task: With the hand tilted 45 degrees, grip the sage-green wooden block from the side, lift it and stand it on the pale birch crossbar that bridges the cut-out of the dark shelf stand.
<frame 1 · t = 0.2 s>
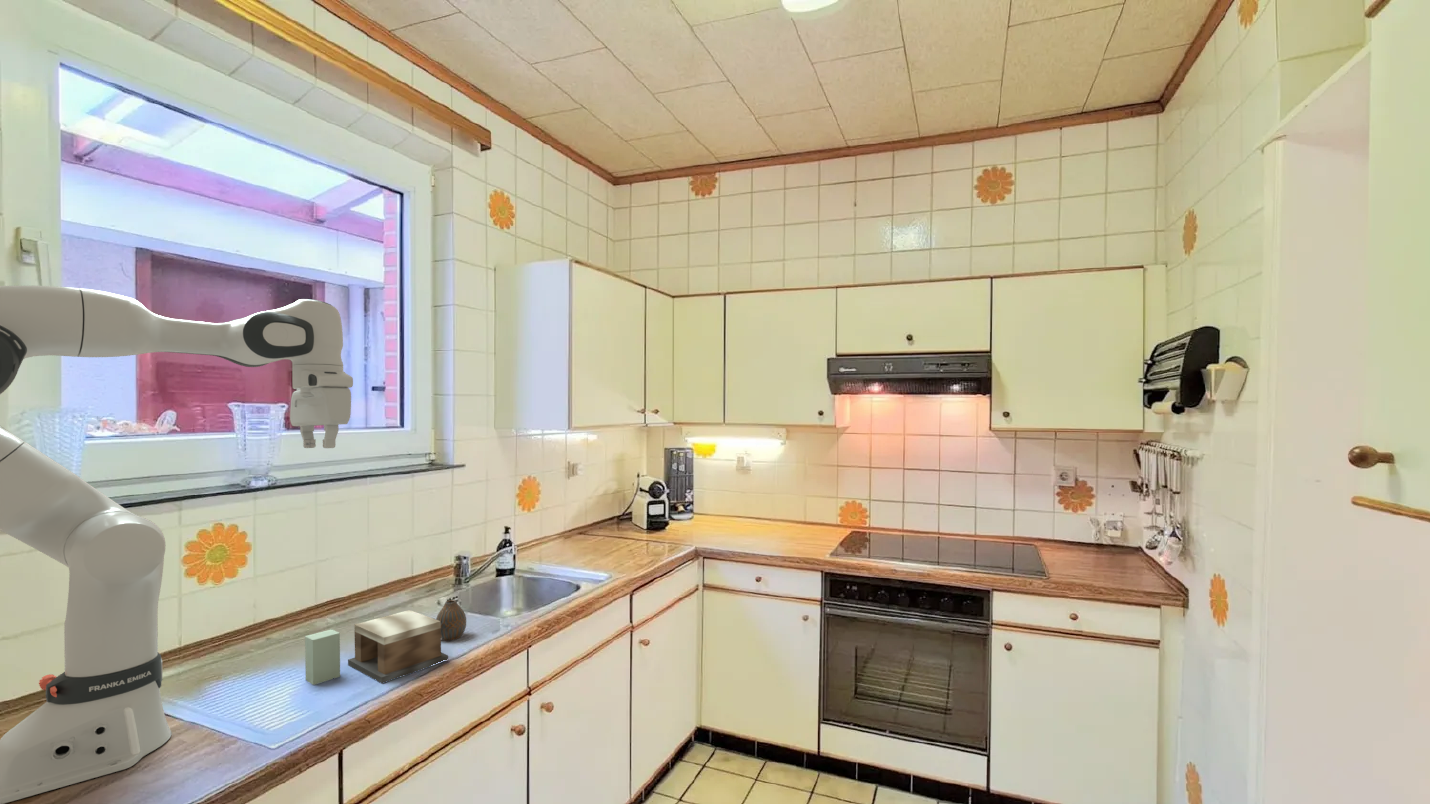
hand: (319, 448, 128), 48 cm above the worktop, tool pointing down, fingers open, 8 cm apart
bridge: (398, 662, 137), on the worktop
vase: (451, 638, 152), on the worktop
block: (323, 678, 130), on the worktop
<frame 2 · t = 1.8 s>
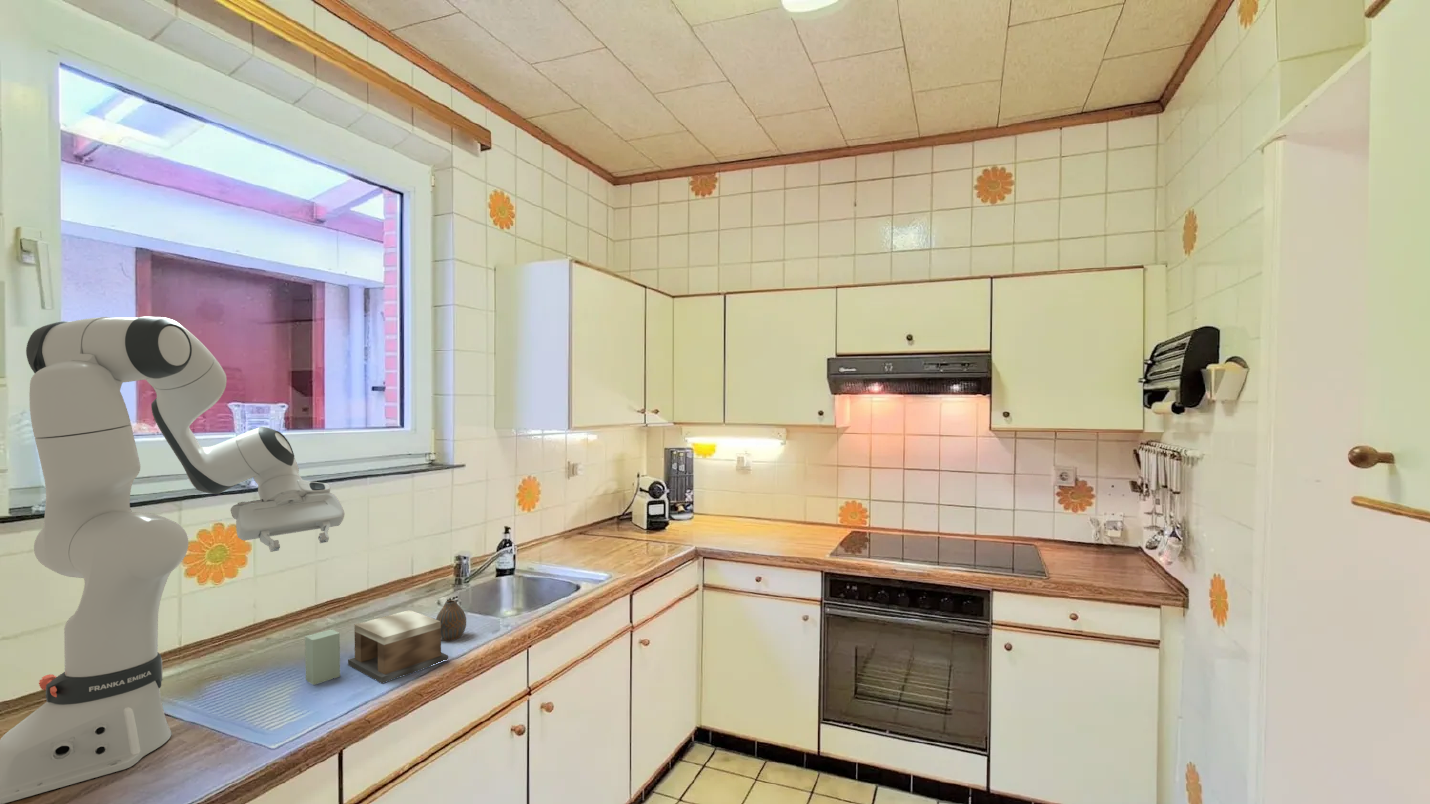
hand: (300, 545, 138), 26 cm above the worktop, tool tilted 45°, fingers open, 8 cm apart
nothing on the worktop moved.
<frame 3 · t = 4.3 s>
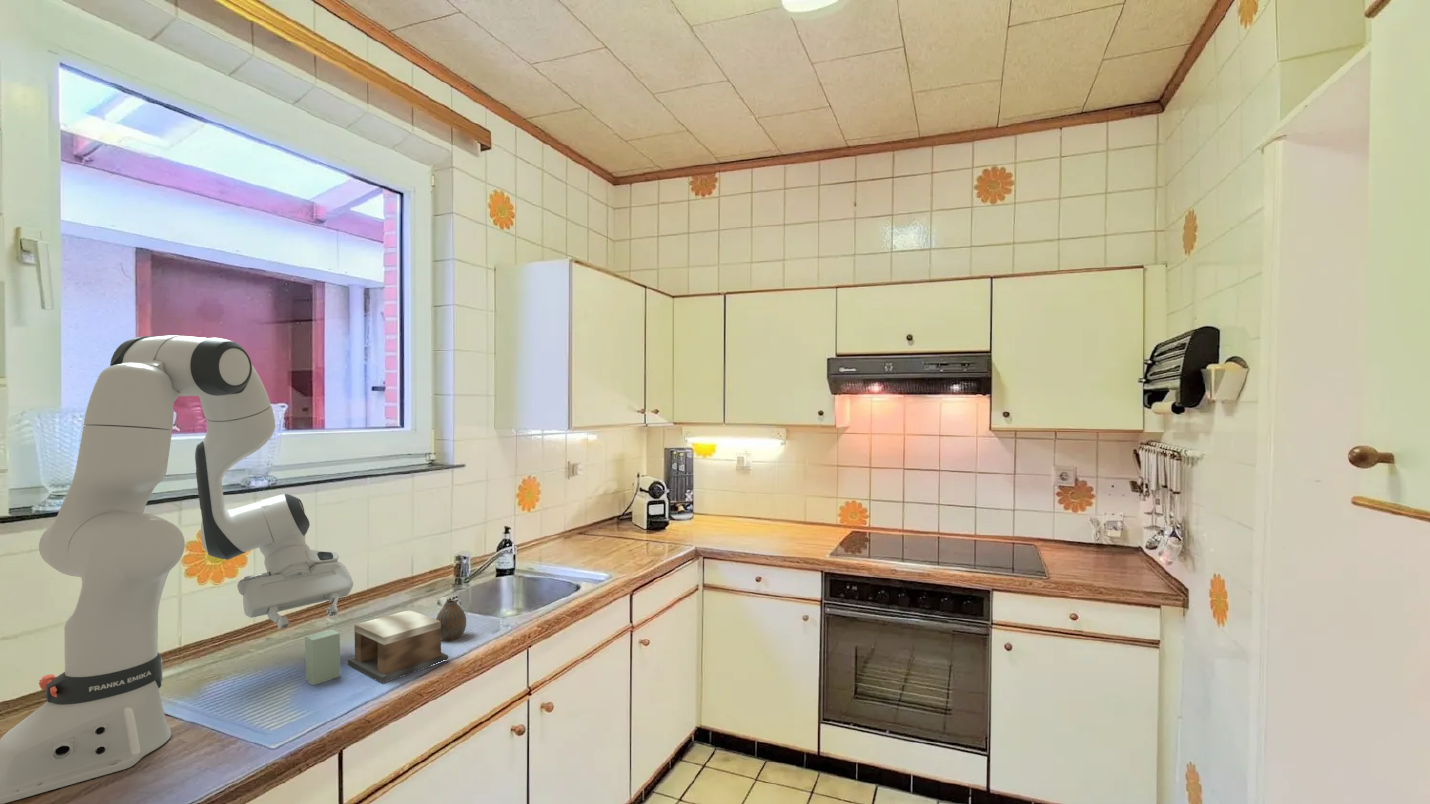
hand: (309, 620, 134), 11 cm above the worktop, tool tilted 45°, fingers open, 8 cm apart
nothing on the worktop moved.
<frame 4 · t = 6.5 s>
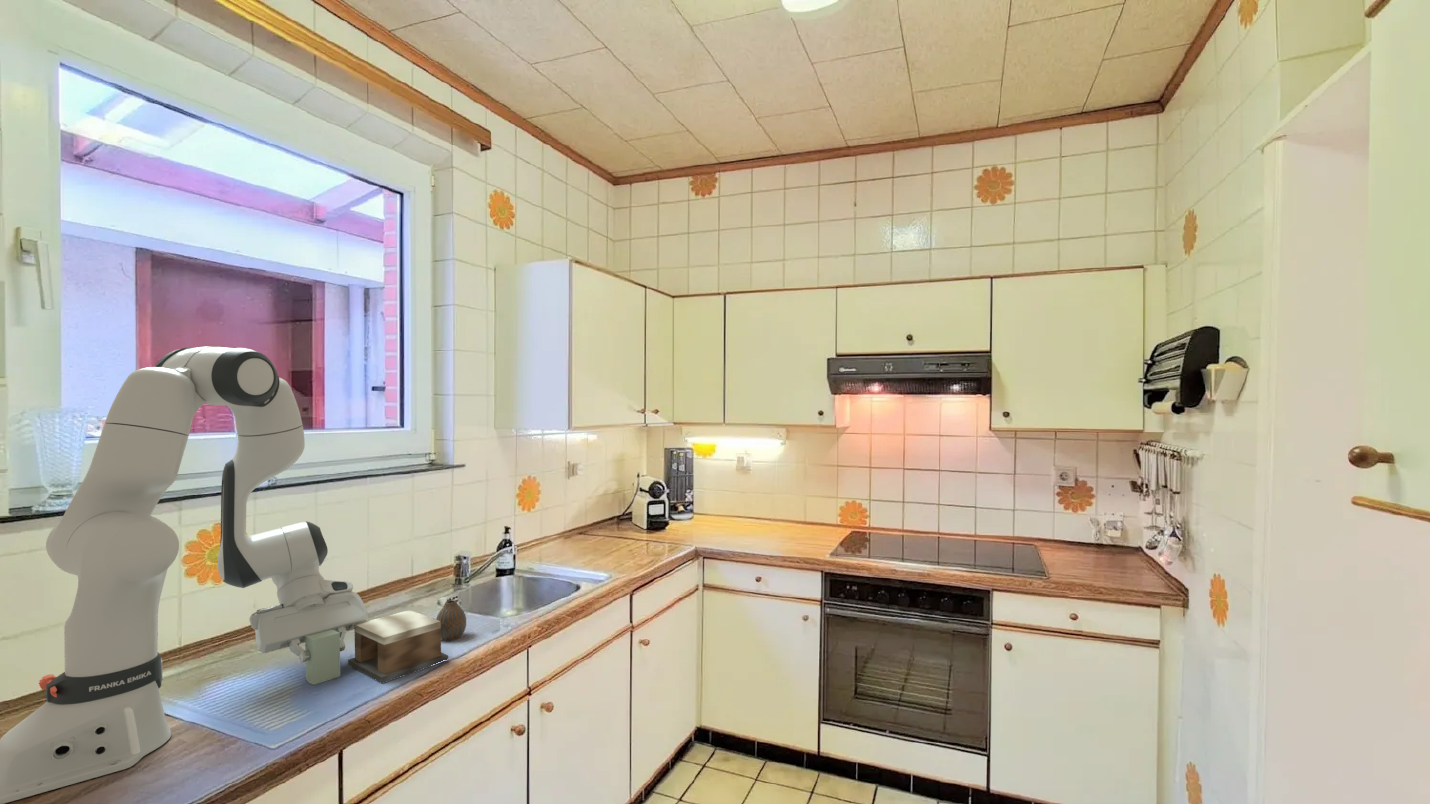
hand: (323, 655, 129), 5 cm above the worktop, tool tilted 45°, fingers closed on block, 5 cm apart
block: (323, 678, 130), on the worktop, touching gripper
everything else where it was.
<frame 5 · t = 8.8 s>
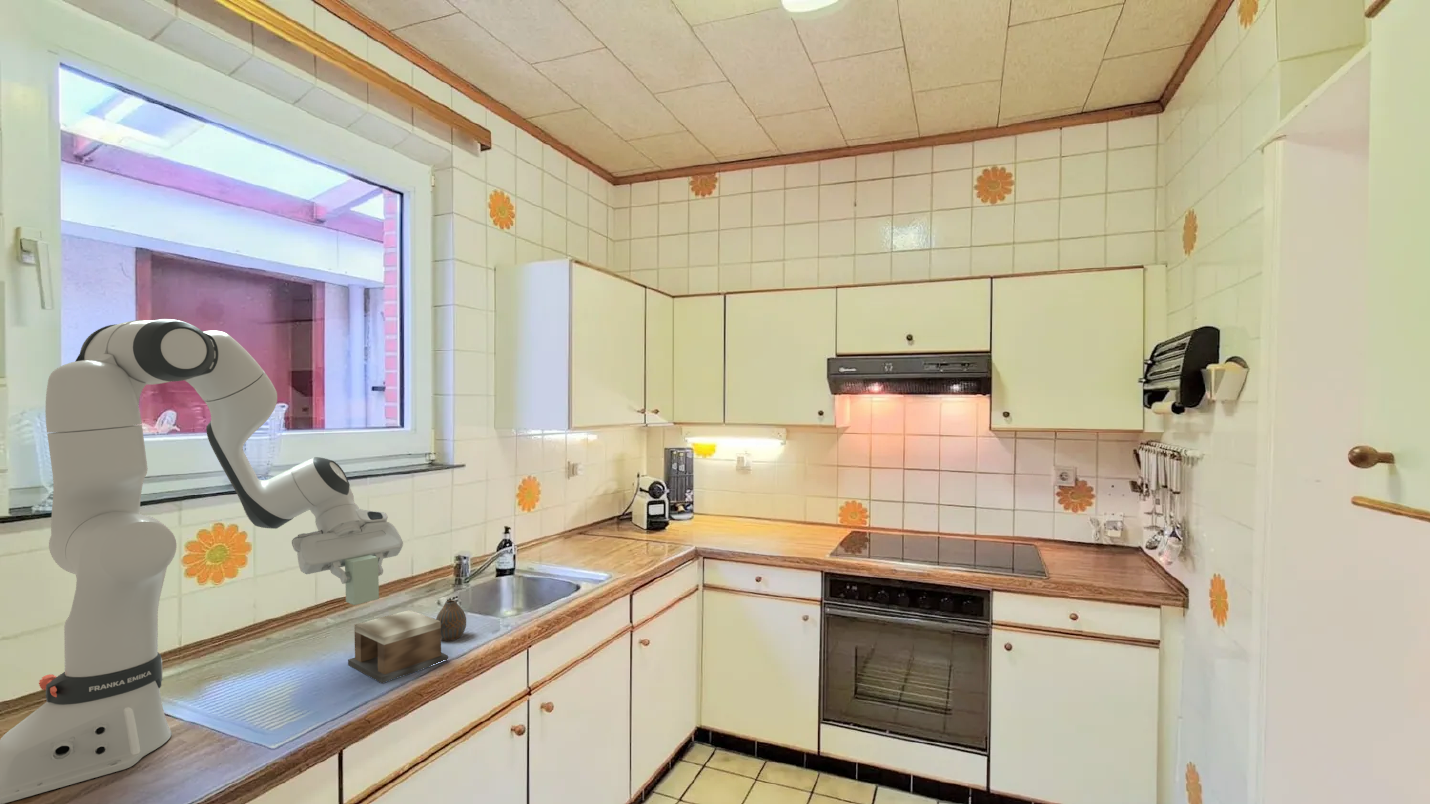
hand: (363, 577, 134), 19 cm above the worktop, tool tilted 45°, fingers closed on block, 5 cm apart
block: (362, 600, 134), point 15 cm above the worktop, touching gripper
everything else where it was.
when the fingers open (15 cm above the worktop, at t = 10.9 s): block drops 1 cm, resting on bridge.
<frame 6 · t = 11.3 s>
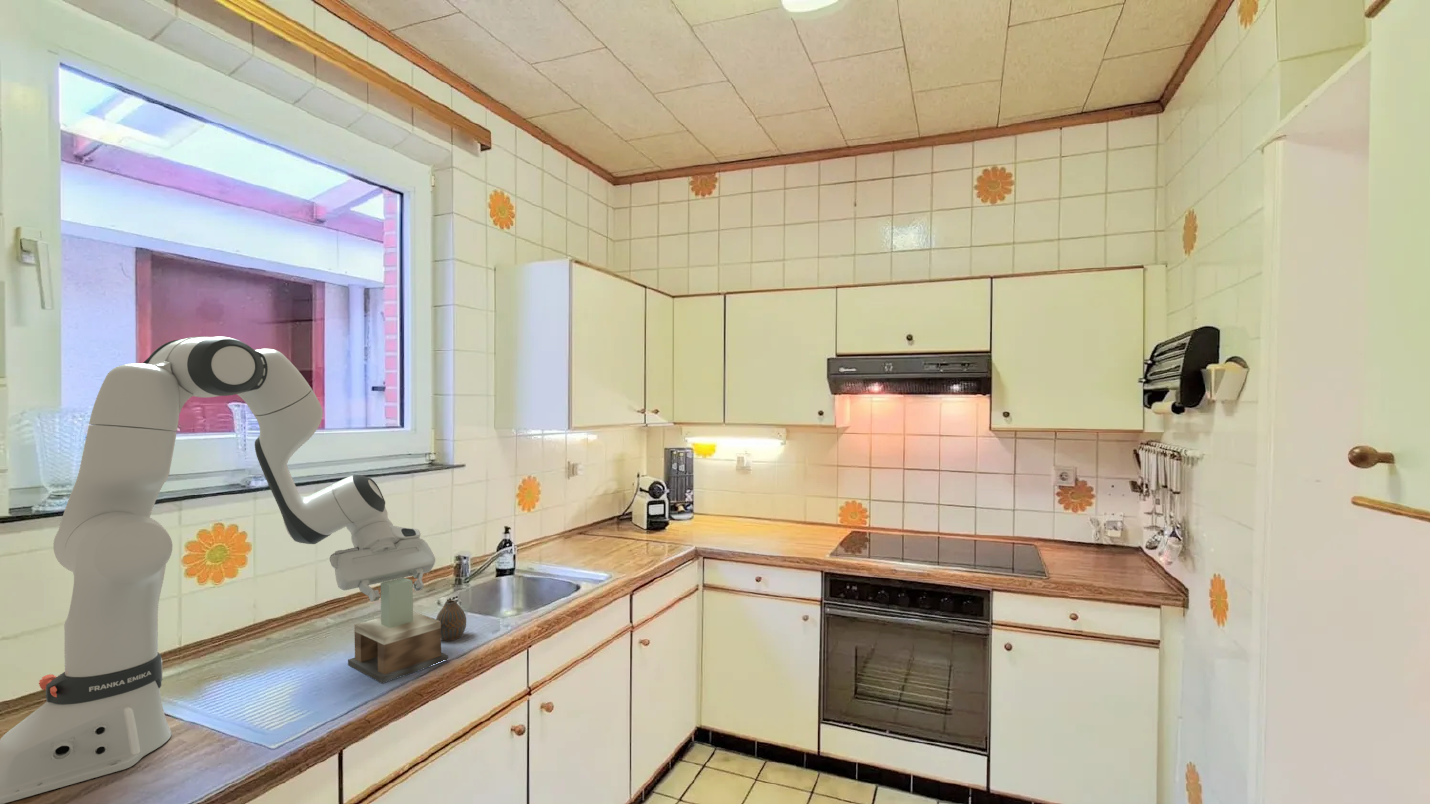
hand: (398, 594, 137), 15 cm above the worktop, tool tilted 45°, fingers open, 8 cm apart
block: (397, 622, 137), point 9 cm above the worktop, touching bridge
everything else where it was.
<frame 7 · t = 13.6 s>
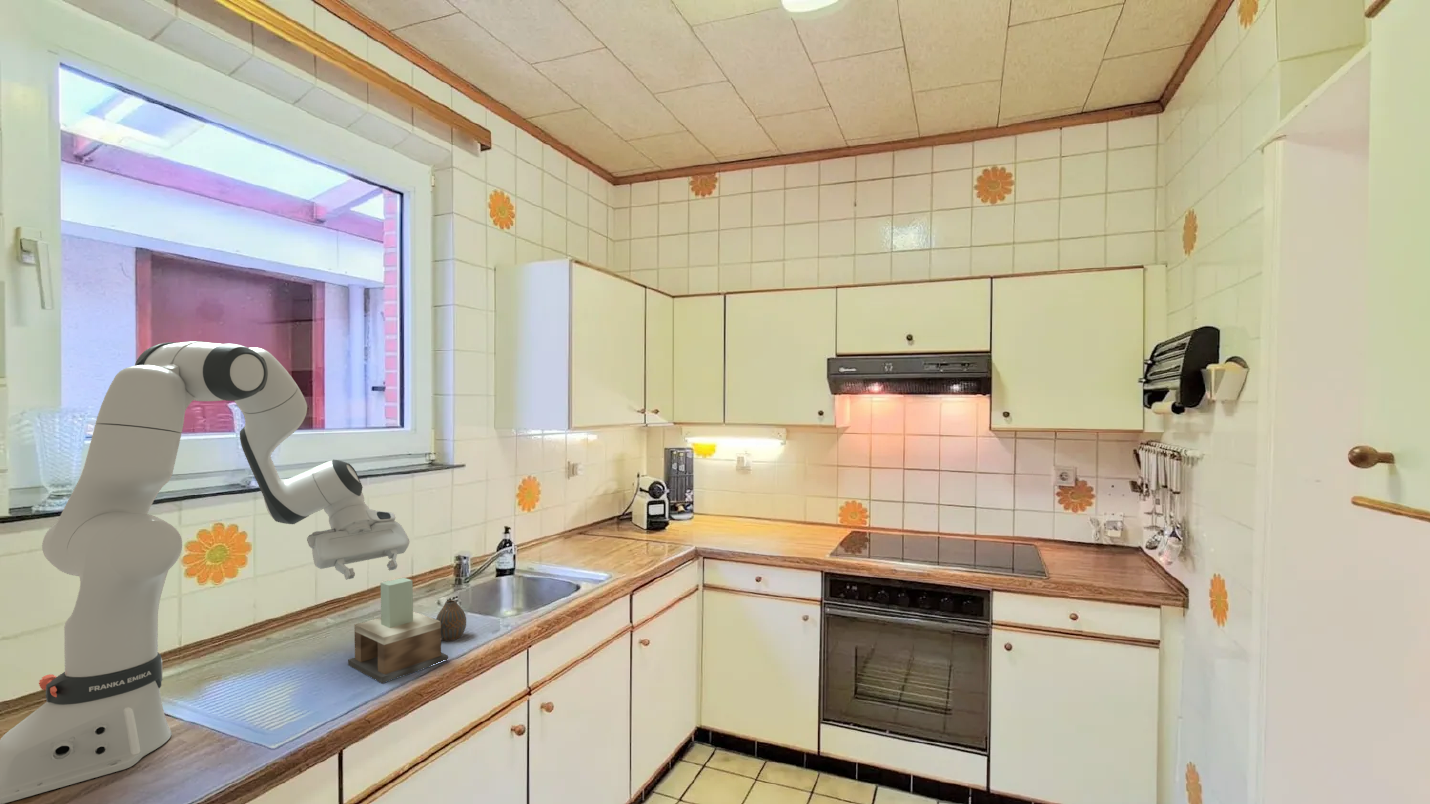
hand: (372, 572, 145), 18 cm above the worktop, tool tilted 45°, fingers open, 8 cm apart
nothing on the worktop moved.
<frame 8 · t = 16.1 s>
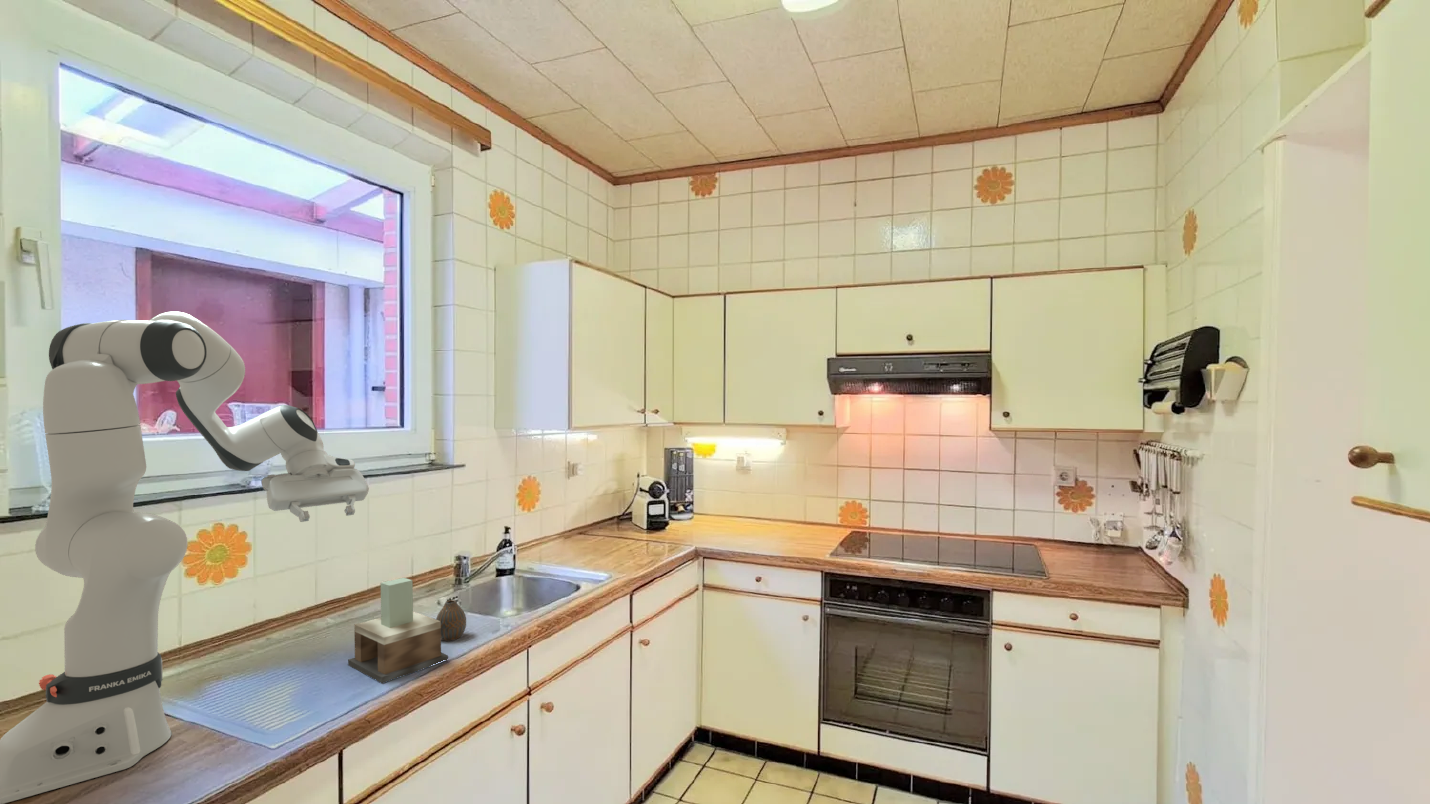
hand: (328, 516, 143), 31 cm above the worktop, tool tilted 45°, fingers open, 8 cm apart
nothing on the worktop moved.
at the end: block inside the target area on the bridge (0.1 cm from its centre), point 8.7 cm above the bridge's base; block tilted 0°; the gripper is holding nothing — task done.
